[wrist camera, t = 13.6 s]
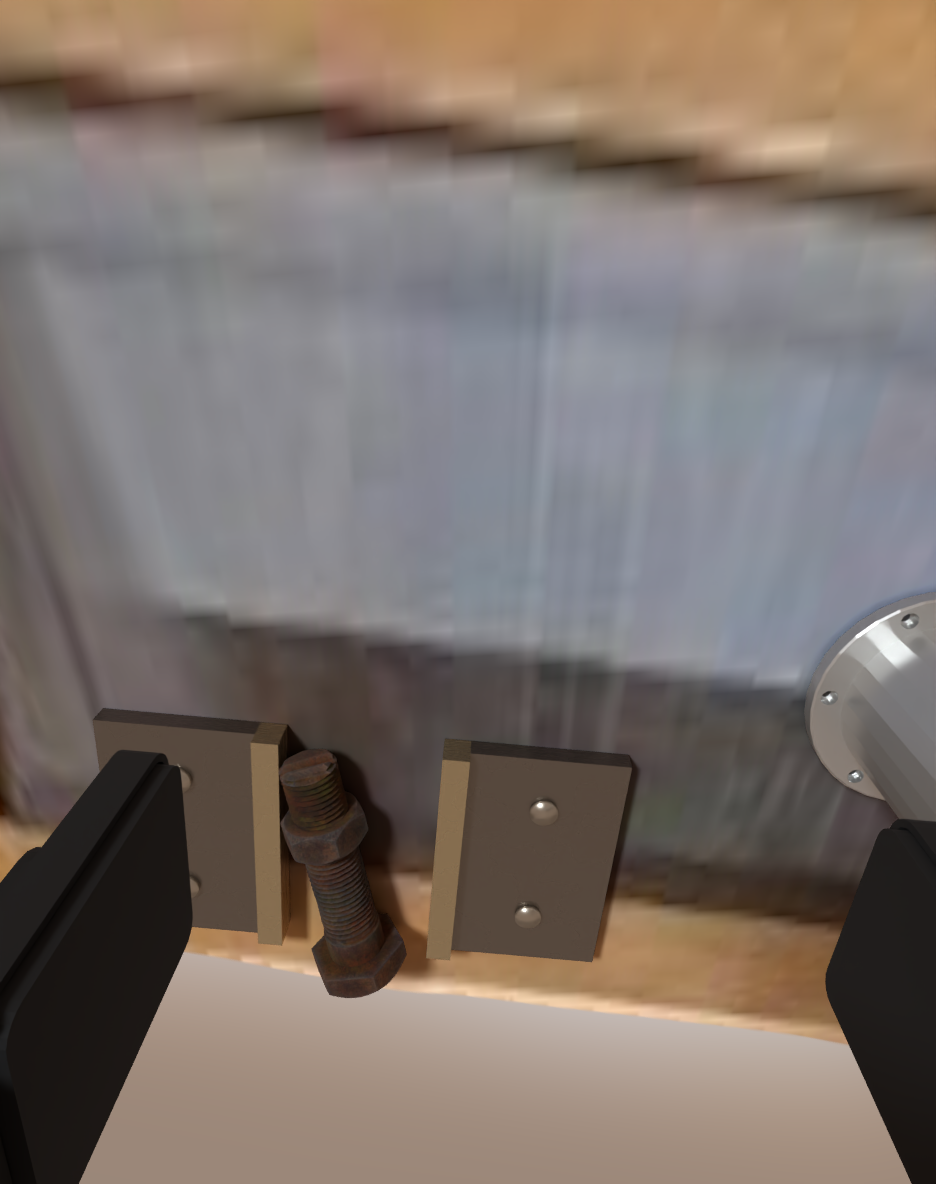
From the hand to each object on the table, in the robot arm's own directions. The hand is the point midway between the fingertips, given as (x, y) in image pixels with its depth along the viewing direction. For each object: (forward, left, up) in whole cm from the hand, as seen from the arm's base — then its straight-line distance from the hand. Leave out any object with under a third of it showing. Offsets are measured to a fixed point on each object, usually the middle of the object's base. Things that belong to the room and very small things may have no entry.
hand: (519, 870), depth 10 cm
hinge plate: (+6, +25, -28) cm, 38 cm away
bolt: (+7, +26, -29) cm, 39 cm away
